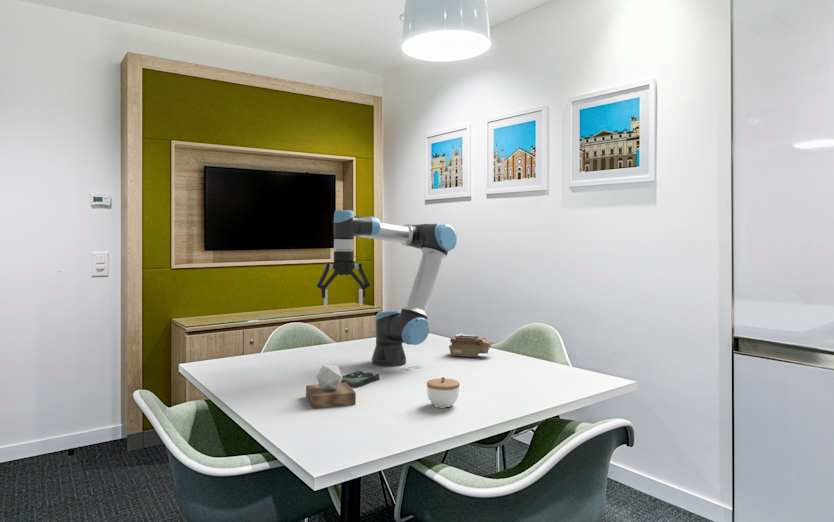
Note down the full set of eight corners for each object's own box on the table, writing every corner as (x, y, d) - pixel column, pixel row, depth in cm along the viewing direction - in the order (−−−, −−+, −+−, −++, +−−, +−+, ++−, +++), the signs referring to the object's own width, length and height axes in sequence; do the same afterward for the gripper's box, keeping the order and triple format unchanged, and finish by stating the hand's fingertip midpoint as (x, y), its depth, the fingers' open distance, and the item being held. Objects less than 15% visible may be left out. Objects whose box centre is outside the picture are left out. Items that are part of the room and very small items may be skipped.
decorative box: (456, 351, 275) (456, 331, 275) (496, 355, 267) (496, 334, 266) (446, 356, 263) (447, 335, 263) (487, 360, 255) (488, 339, 254)
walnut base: (345, 393, 198) (346, 382, 198) (355, 404, 185) (355, 392, 185) (306, 396, 194) (306, 385, 193) (312, 408, 180) (313, 396, 180)
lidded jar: (425, 401, 190) (425, 373, 190) (456, 400, 191) (456, 373, 191) (428, 410, 179) (428, 381, 179) (461, 410, 180) (461, 381, 180)
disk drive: (357, 377, 224) (334, 385, 211) (358, 370, 224) (334, 378, 211) (379, 381, 219) (357, 389, 206) (379, 373, 218) (357, 381, 206)
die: (330, 395, 183) (347, 370, 186) (308, 381, 185) (325, 356, 187) (333, 398, 191) (349, 373, 194) (312, 384, 192) (328, 360, 195)
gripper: (372, 250, 222) (372, 304, 223) (309, 250, 214) (309, 306, 214) (377, 251, 215) (377, 306, 216) (312, 250, 207) (312, 308, 207)
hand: (343, 306), depth 215 cm, fingers open, 13 cm apart
